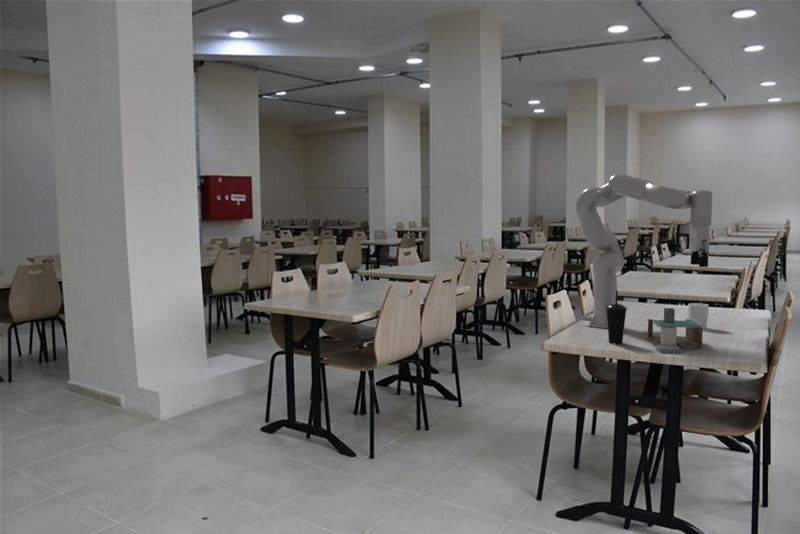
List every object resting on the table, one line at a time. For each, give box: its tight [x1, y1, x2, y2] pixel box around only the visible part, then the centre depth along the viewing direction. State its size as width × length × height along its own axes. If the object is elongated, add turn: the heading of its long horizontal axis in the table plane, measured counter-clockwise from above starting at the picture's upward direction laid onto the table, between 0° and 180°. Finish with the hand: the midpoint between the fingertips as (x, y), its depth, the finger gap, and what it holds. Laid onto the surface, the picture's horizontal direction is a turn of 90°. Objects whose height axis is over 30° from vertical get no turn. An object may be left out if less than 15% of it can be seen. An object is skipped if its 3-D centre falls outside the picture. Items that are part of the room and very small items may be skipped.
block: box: [660, 327, 678, 345], centre depth 244 cm, size 4×4×8 cm
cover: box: [653, 307, 699, 328], centre depth 243 cm, size 14×8×6 cm, turn 81°
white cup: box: [687, 302, 709, 330], centre depth 279 cm, size 8×8×10 cm
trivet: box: [655, 345, 682, 354], centre depth 236 cm, size 7×6×2 cm
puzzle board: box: [647, 318, 704, 351], centre depth 248 cm, size 15×18×8 cm
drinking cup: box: [606, 289, 628, 345], centre depth 251 cm, size 8×8×20 cm
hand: (699, 265), depth 261 cm, fingers open, 9 cm apart
